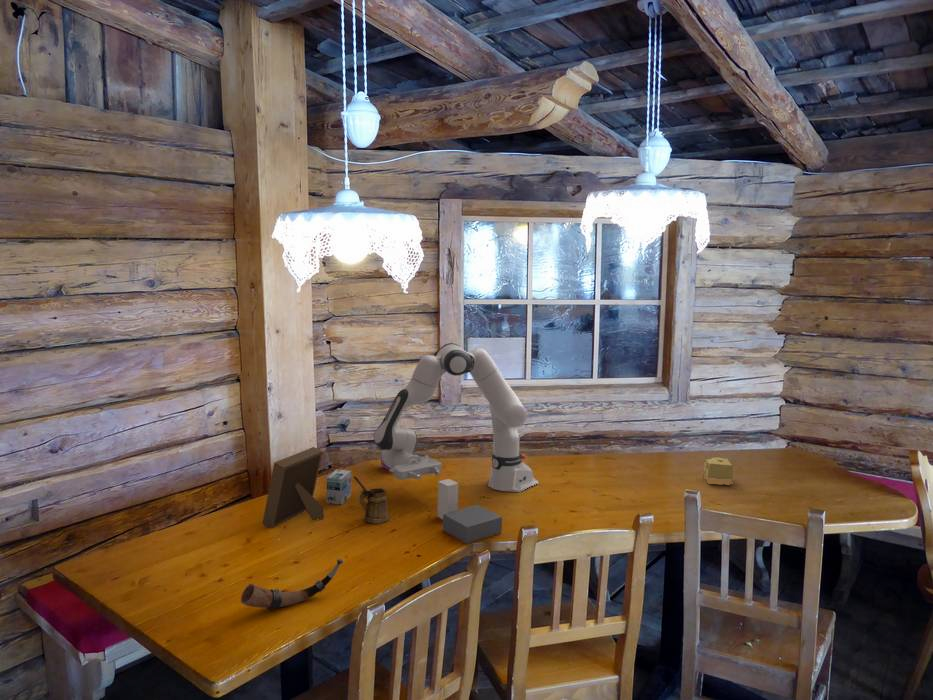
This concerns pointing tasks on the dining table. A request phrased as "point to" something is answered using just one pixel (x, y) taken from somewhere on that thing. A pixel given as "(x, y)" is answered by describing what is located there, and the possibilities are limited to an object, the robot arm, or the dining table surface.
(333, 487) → the light bulb box
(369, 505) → the wooden mug
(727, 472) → the cheese
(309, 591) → the drinking horn
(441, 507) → the carton
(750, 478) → the dining table surface
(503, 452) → the robot arm
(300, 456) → the photo frame
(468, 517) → the podium
